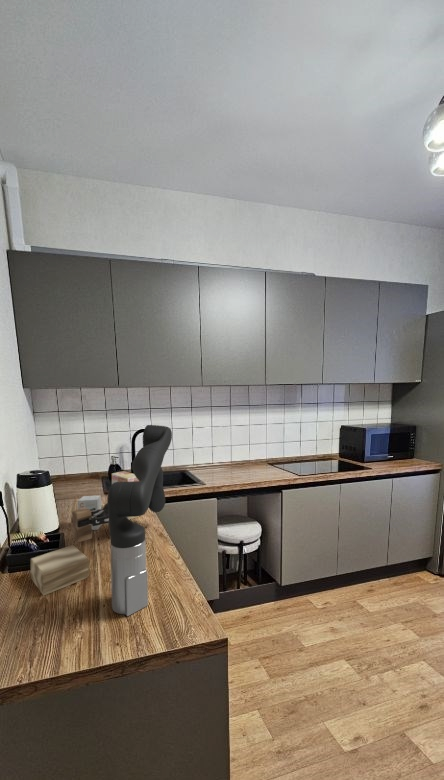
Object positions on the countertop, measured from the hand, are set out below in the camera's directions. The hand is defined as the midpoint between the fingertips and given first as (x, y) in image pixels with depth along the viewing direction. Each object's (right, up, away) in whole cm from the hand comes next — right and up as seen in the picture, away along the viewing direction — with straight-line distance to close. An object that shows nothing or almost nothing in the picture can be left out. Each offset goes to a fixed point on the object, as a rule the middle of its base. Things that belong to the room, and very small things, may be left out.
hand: (74, 522), depth 118 cm
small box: (-4, -12, +24) cm, 27 cm away
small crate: (+2, -6, +2) cm, 7 cm away
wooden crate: (+2, -11, -15) cm, 19 cm away
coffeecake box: (+7, -12, +38) cm, 41 cm away
